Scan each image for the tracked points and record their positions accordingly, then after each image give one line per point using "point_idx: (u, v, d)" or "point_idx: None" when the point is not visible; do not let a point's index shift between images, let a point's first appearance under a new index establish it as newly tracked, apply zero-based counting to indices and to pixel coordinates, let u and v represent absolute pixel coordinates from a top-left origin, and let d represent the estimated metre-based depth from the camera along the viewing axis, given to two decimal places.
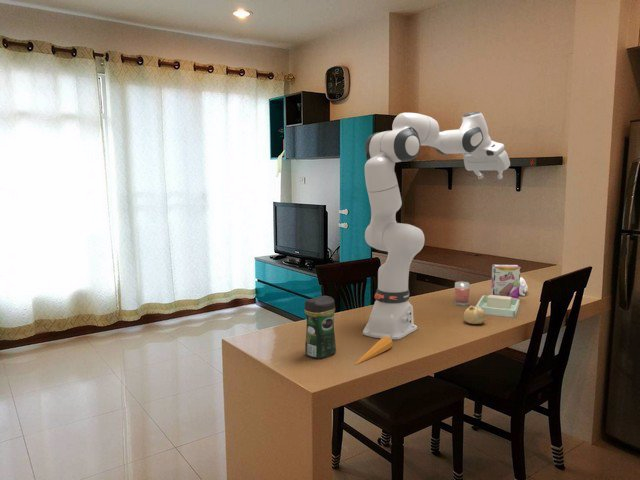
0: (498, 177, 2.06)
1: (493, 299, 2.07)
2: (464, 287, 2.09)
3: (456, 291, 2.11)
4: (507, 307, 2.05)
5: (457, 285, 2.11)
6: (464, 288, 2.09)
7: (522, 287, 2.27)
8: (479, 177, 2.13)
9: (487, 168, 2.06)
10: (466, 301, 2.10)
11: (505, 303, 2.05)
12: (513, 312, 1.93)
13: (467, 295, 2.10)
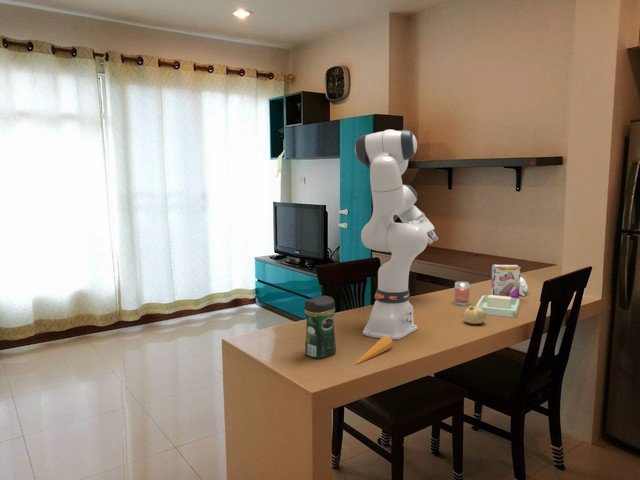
0: (437, 237, 2.19)
1: (493, 299, 2.07)
2: (464, 287, 2.09)
3: (456, 291, 2.11)
4: (507, 307, 2.05)
5: (457, 285, 2.11)
6: (464, 288, 2.09)
7: (522, 287, 2.27)
8: (431, 239, 2.11)
9: (429, 228, 2.17)
10: (466, 301, 2.10)
11: (505, 303, 2.05)
12: (513, 312, 1.93)
13: (467, 295, 2.10)
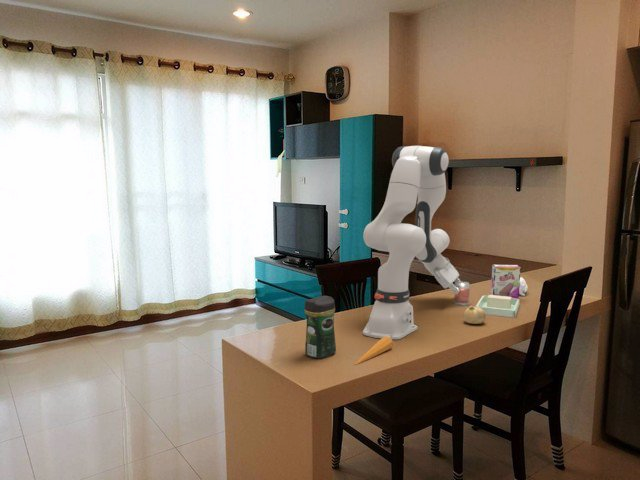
0: None
1: (493, 299, 2.07)
2: (464, 287, 2.09)
3: None
4: (507, 307, 2.05)
5: (457, 285, 2.11)
6: (464, 288, 2.09)
7: (522, 287, 2.27)
8: (458, 289, 2.09)
9: (454, 276, 2.15)
10: (466, 301, 2.10)
11: (505, 303, 2.05)
12: (513, 312, 1.93)
13: (467, 295, 2.10)
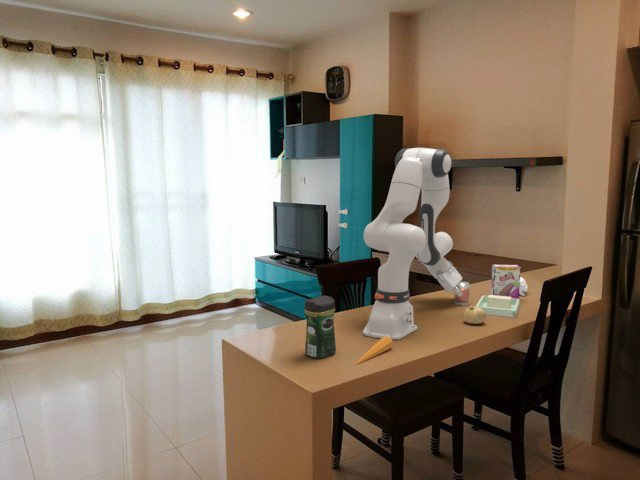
0: None
1: (493, 299, 2.07)
2: (464, 287, 2.09)
3: None
4: (507, 307, 2.05)
5: (457, 285, 2.11)
6: (464, 288, 2.09)
7: (522, 287, 2.27)
8: (461, 292, 2.09)
9: (457, 280, 2.14)
10: (466, 301, 2.10)
11: (505, 303, 2.05)
12: (513, 312, 1.93)
13: (467, 295, 2.10)
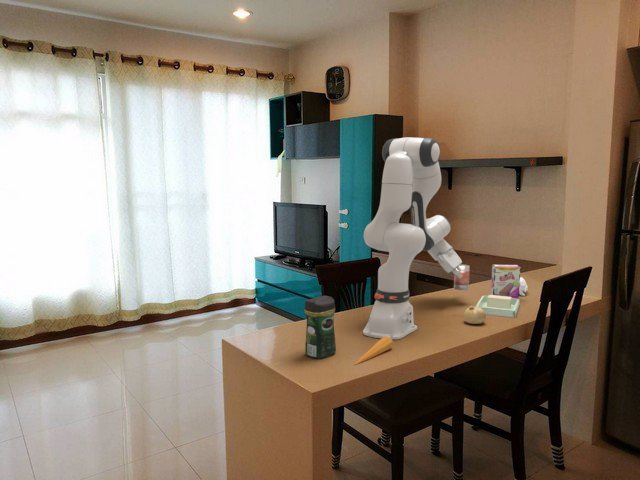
0: None
1: (493, 299, 2.07)
2: (463, 269, 2.08)
3: None
4: (507, 307, 2.05)
5: (457, 267, 2.09)
6: (464, 270, 2.08)
7: (522, 287, 2.27)
8: (461, 274, 2.08)
9: (457, 262, 2.13)
10: (466, 284, 2.09)
11: (505, 303, 2.05)
12: (513, 312, 1.93)
13: (467, 278, 2.09)
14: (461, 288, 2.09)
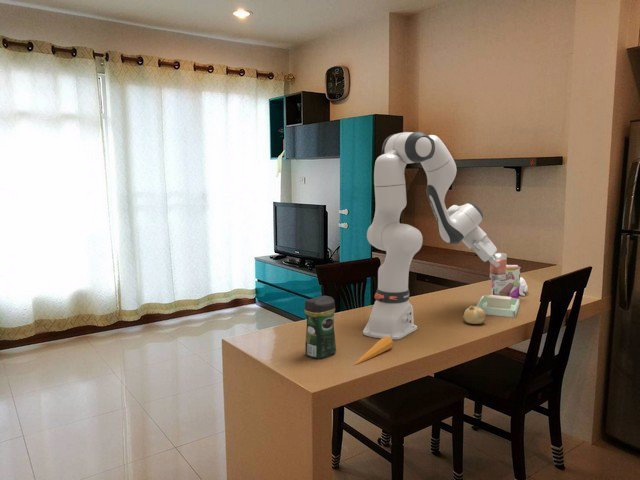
0: None
1: (493, 299, 2.07)
2: (501, 258, 1.95)
3: None
4: (507, 307, 2.05)
5: (493, 256, 1.96)
6: (501, 259, 1.95)
7: (522, 287, 2.27)
8: (498, 262, 1.95)
9: (493, 250, 2.00)
10: (503, 273, 1.96)
11: (505, 303, 2.05)
12: (513, 312, 1.93)
13: (504, 266, 1.96)
14: (498, 278, 1.96)
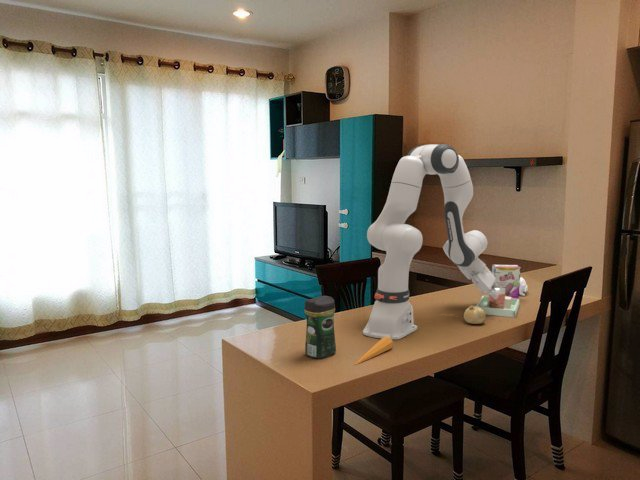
0: None
1: None
2: (499, 292, 1.97)
3: (491, 296, 1.99)
4: (507, 307, 2.05)
5: None
6: (500, 293, 1.97)
7: (522, 287, 2.27)
8: None
9: (492, 281, 2.01)
10: (502, 307, 1.98)
11: (505, 303, 2.05)
12: (513, 312, 1.93)
13: (503, 301, 1.98)
14: None
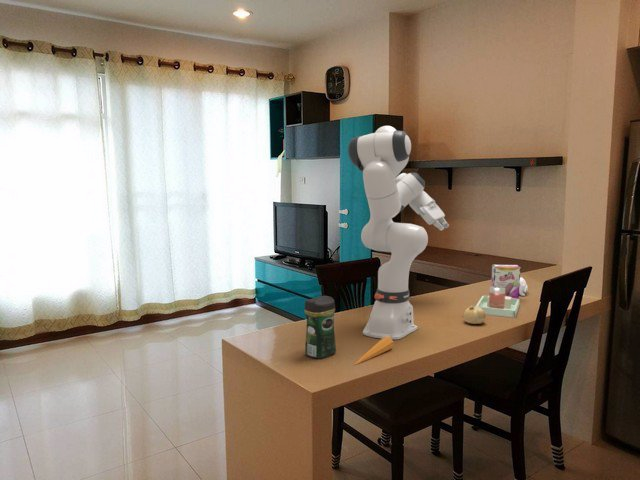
0: (447, 224, 2.14)
1: None
2: (500, 292, 1.97)
3: (492, 296, 1.99)
4: (507, 307, 2.05)
5: (492, 290, 1.98)
6: (500, 293, 1.97)
7: (522, 287, 2.27)
8: (442, 226, 2.06)
9: (439, 215, 2.12)
10: (502, 307, 1.98)
11: (505, 303, 2.05)
12: (513, 312, 1.93)
13: (503, 300, 1.98)
14: None
